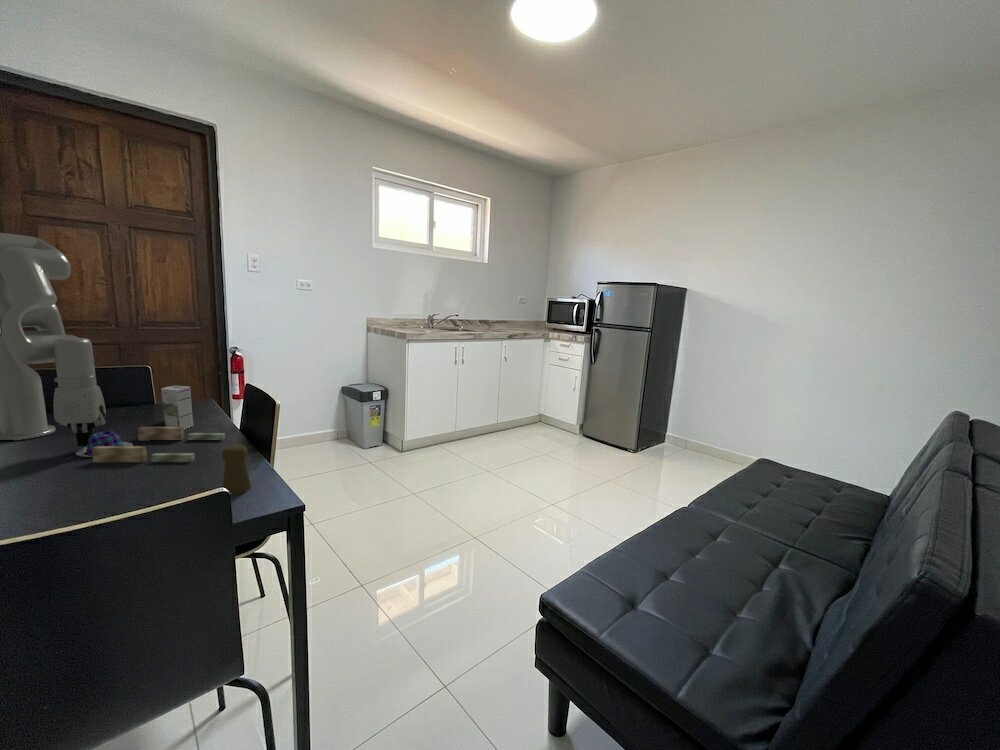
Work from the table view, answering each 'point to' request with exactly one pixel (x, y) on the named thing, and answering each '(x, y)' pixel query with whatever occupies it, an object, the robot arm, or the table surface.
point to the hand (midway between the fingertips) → (85, 444)
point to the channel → (140, 451)
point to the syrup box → (177, 406)
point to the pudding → (102, 442)
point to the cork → (235, 469)
